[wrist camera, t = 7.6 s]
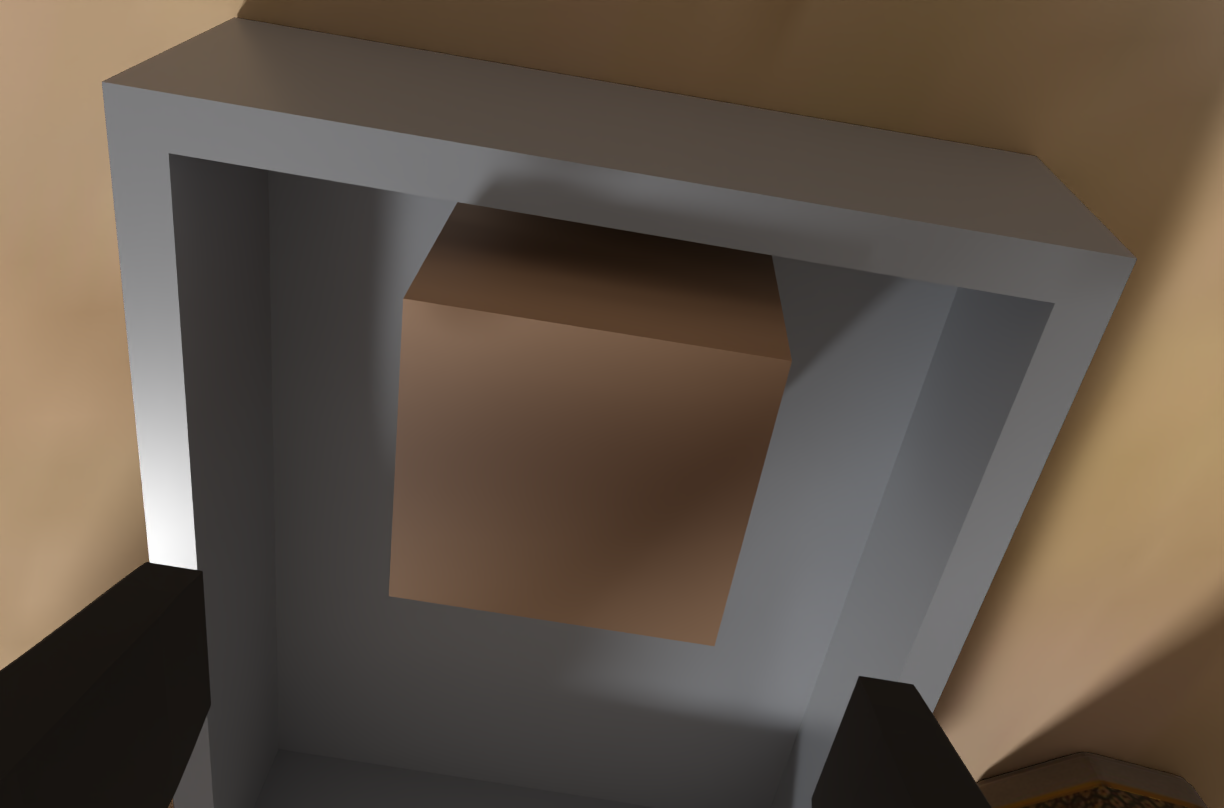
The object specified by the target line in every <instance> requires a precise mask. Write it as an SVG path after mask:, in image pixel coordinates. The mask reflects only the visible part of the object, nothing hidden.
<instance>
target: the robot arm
mask: <svg viewBox="0 0 1224 808" xmlns="http://www.w3.org/2000/svg"><path fill="white" fill-rule="evenodd" d="M210 706H211V694H210V678H209V662H208V646H207V630H206V615H205V599H204V583H203V571H199V570H193V569H187V568H181V567H174V566H168V565H162V564H156V563H149V562H146V563H144V564H143V565H141V566H140V567H138V568H137V569H136V570H134V571H133V572H132V573H130V574H129V575H127V576H126V577H125V578H123V579H122V580H121V581H119V582H118V583H117V584H115V585H114V586H113V587H111V588H110V589H109V590H107V591H106V592H105V593H104V594H102V595H101V596H100V597H98V598H97V599H96V600H94V601H93V602H92V603H90V604H89V605H88V606H87V607H85V608H84V609H83V610H81V611H80V612H79V613H77V614H76V615H75V616H73V617H72V618H71V619H69V620H68V621H67V622H66V623H64V624H63V625H62V626H60V627H59V628H58V629H56V630H55V631H54V632H52V633H51V634H50V635H48V636H47V637H46V638H44V639H43V640H42V641H40V642H39V643H38V644H36V645H35V646H34V647H32V648H31V649H30V650H28V651H27V652H25V653H24V654H23V655H21V656H20V657H19V658H17V659H16V660H14V661H13V662H12V663H10V664H9V665H8V666H6V667H5V668H3V669H2V670H1V671H0V808H168V806H169V804H170V802H171V800H172V798H173V796H174V795H175V793H176V790H177V788H178V786H179V783H180V781H181V778H182V776H183V774H184V771H185V769H186V766H187V764H188V762H189V759H190V757H191V755H192V752H193V750H194V747H195V745H196V742H197V739H198V737H199V734H200V732H201V729H202V727H203V724H204V722H205V719H206V717H207V714H208V711H209V709H210ZM811 802H812V808H992V806H991V805H990V803H989V802H988V800H987V799H986V797H985V796H984V794H983V793H982V791H981V790H980V788H979V786H978V785H977V783H976V782H975V780H974V779H973V777H972V775H971V774H970V772H969V771H968V769H967V768H966V766H965V765H964V763H963V761H962V760H961V758H960V757H959V755H958V753H957V752H956V750H955V749H954V747H953V745H952V744H951V742H950V741H949V739H948V737H947V736H946V734H945V733H944V731H943V729H942V728H941V726H940V725H939V723H938V721H937V720H936V718H935V717H934V715H933V714H932V712H931V710H930V709H929V707H928V706H927V704H926V702H925V701H924V699H923V698H922V696H921V695H920V693H919V692H918V690H917V689H916V687H915V686H914V684H908V683H902V682H896V681H889V680H883V679H877V678H870V677H864V676H859V677H858V679H857V682H856V685H855V687H854V690H853V692H852V695H851V698H850V700H849V703H848V705H847V708H846V710H845V713H844V716H843V718H842V721H841V723H840V726H839V728H838V731H837V734H836V736H835V739H834V741H833V744H832V746H831V749H830V752H829V754H828V757H827V759H826V762H825V764H824V767H823V770H822V772H821V775H820V777H819V780H818V783H817V785H816V788H815V790H814V793H813V795H812V798H811Z"/></svg>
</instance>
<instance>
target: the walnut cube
mask: <svg viewBox="0 0 1224 808" xmlns="http://www.w3.org/2000/svg"><path fill="white" fill-rule="evenodd" d="M791 363H792V359H791V353H790V348H789V343H788V338H787V332H786V327H785V322H784V317H783V311H782V306H781V301H780V296H779V290H778V285H777V280H776V275H775V269H774V264H773V259H772V255H767V254H761V253H755V252H749V251H743V250H738V249H732V248H726V247H720V246H714V245H708V244H702V243H696V242H690V241H684V240H679V239H673V238H667V237H661V236H655V235H649V234H643V233H637V232H631V231H625V230H619V229H614V228H608V227H602V226H596V225H590V224H584V223H578V222H572V221H566V220H560V219H555V218H549V217H543V216H537V215H531V214H525V213H519V212H513V211H507V210H501V209H495V208H490V207H484V206H478V205H472V204H466V203H460V202H457V204H456V205H455V207H454V209H453V211H452V213H451V214H450V216H449V218H448V220H447V221H446V223H445V225H444V227H443V229H442V230H441V232H440V234H439V236H438V237H437V239H436V241H435V243H434V245H433V246H432V248H431V250H430V252H429V253H428V255H427V257H426V259H425V260H424V262H423V264H422V266H421V268H420V269H419V271H418V273H417V275H416V276H415V278H414V280H413V282H412V284H411V285H410V287H409V289H408V291H407V292H406V294H405V296H404V298H403V310H402V331H401V352H400V373H399V394H398V415H397V435H396V456H395V477H394V498H393V519H392V540H391V561H390V581H389V596H391V597H398V598H404V599H411V600H417V601H424V602H430V603H437V604H443V605H450V606H456V607H463V608H469V609H476V610H482V611H489V612H495V613H502V614H508V615H514V616H521V617H527V618H534V619H540V620H547V621H553V622H560V623H566V624H573V625H579V626H586V627H592V628H599V629H605V630H612V631H618V632H625V633H631V634H638V635H644V636H651V637H657V638H664V639H670V640H677V641H683V642H690V643H696V644H703V645H709V646H715V643H716V639H717V635H718V632H719V628H720V624H721V621H722V617H723V613H724V610H725V606H726V602H727V598H728V595H729V591H730V587H731V584H732V580H733V576H734V573H735V569H736V565H737V562H738V558H739V554H740V551H741V547H742V543H743V540H744V536H745V532H746V529H747V525H748V521H749V517H750V514H751V510H752V506H753V503H754V499H755V495H756V492H757V488H758V484H759V481H760V477H761V473H762V470H763V466H764V462H765V459H766V455H767V451H768V448H769V444H770V440H771V436H772V433H773V429H774V425H775V422H776V418H777V414H778V411H779V407H780V403H781V400H782V396H783V392H784V389H785V385H786V381H787V378H788V374H789V370H790V367H791Z"/></svg>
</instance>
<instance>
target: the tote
mask: <svg viewBox="0 0 1224 808" xmlns="http://www.w3.org/2000/svg"><path fill="white" fill-rule="evenodd" d="M102 88H103V98H104V108H105V118H106V128H107V138H108V148H109V158H110V168H111V178H112V189H113V199H114V209H115V219H116V229H117V239H118V249H119V259H120V269H121V279H122V289H123V299H124V309H125V320H126V330H127V340H128V350H129V360H130V370H131V380H132V390H133V400H134V410H135V420H136V430H137V440H138V450H139V461H140V471H141V481H142V491H143V501H144V511H145V521H146V531H147V541H148V551H149V561H150V563H156V564H162V565H168V566H174V567H181V568H187V569H193V570H199V571H203V583H204V599H205V615H206V630H207V646H208V662H209V678H210V694H211V706H210V709H209V711H208V714H207V717H206V719H205V722H204V724H203V727H202V729H201V732H200V734H199V737H198V739H197V742H196V745H195V747H194V750H193V752H192V755H191V757H190V759H189V762H188V764H187V766H186V769H185V771H184V774H183V776H182V778H181V781H180V783H179V786H178V788H177V790H176V793H175V795H174V796H173V803H174V808H812V802H811V798H812V795H813V793H814V790H815V788H816V785H817V783H818V780H819V777H820V775H821V772H822V770H823V767H824V764H825V762H826V759H827V757H828V754H829V752H830V749H831V746H832V744H833V741H834V739H835V736H836V734H837V731H838V728H839V726H840V723H841V721H842V718H843V716H844V713H845V710H846V708H847V705H848V703H849V700H850V698H851V695H852V692H853V690H854V687H855V685H856V682H857V679H858V677H859V676H864V677H870V678H877V679H883V680H889V681H896V682H902V683H908V684H914V686H915V687H916V689H917V690H918V692H919V693H920V695H921V696H922V698H923V699H924V701H925V702H926V704H927V706H928V707H929V709H930V710H931V712H932V713H933V711H934V709H935V707H936V705H937V702H938V700H939V698H940V696H941V693H942V691H943V689H944V687H945V685H946V682H947V680H948V678H949V676H950V673H951V671H952V669H953V667H954V665H955V662H956V660H957V658H958V656H959V653H960V651H961V649H962V647H963V645H964V642H965V640H966V638H967V636H968V633H969V631H970V629H971V627H972V625H973V622H974V620H975V618H976V616H977V613H978V611H979V609H980V607H981V605H982V602H983V600H984V598H985V596H986V593H987V591H988V589H989V587H990V585H991V582H992V580H993V578H994V576H995V573H996V571H997V569H998V567H999V565H1000V562H1001V560H1002V558H1003V556H1004V553H1005V551H1006V549H1007V547H1008V545H1009V542H1010V540H1011V538H1012V536H1013V533H1014V531H1015V529H1016V527H1017V525H1018V522H1019V520H1020V518H1021V516H1022V513H1023V511H1024V509H1025V507H1026V505H1027V502H1028V500H1029V498H1030V496H1031V493H1032V491H1033V489H1034V487H1035V485H1036V482H1037V480H1038V478H1039V476H1040V473H1041V471H1042V469H1043V467H1044V465H1045V462H1046V460H1047V458H1048V456H1049V453H1050V451H1051V449H1052V447H1053V445H1054V442H1055V440H1056V438H1057V436H1058V433H1059V431H1060V429H1061V427H1062V425H1063V422H1064V420H1065V418H1066V416H1067V413H1068V411H1069V409H1070V407H1071V405H1072V402H1073V400H1074V398H1075V396H1076V393H1077V391H1078V389H1079V387H1080V385H1081V382H1082V380H1083V378H1084V376H1085V373H1086V371H1087V369H1088V367H1089V365H1090V362H1091V360H1092V358H1093V356H1094V353H1095V351H1096V349H1097V347H1098V345H1099V342H1100V340H1101V338H1102V336H1103V333H1104V331H1105V329H1106V327H1107V325H1108V322H1109V320H1110V318H1111V316H1112V313H1113V311H1114V309H1115V307H1116V305H1117V302H1118V300H1119V298H1120V296H1121V293H1122V291H1123V289H1124V287H1125V285H1126V282H1127V280H1128V278H1129V276H1130V273H1131V271H1132V269H1133V267H1134V265H1135V262H1136V260H1137V258H1136V257H1135V256H1134V255H1133V254H1132V253H1131V252H1130V251H1129V250H1128V249H1127V248H1126V247H1125V246H1124V245H1123V244H1122V243H1121V242H1120V241H1119V240H1118V239H1117V238H1116V237H1115V236H1114V235H1113V234H1112V233H1111V232H1110V231H1109V230H1108V229H1107V228H1106V227H1105V226H1104V224H1103V223H1102V222H1101V221H1100V220H1099V219H1098V218H1097V217H1096V216H1095V215H1094V214H1093V213H1092V212H1091V211H1090V210H1089V209H1088V208H1087V207H1086V206H1085V205H1084V204H1083V203H1082V202H1081V201H1080V200H1079V199H1078V198H1077V197H1076V196H1075V195H1074V194H1073V193H1072V192H1071V191H1070V190H1069V189H1068V188H1067V187H1066V186H1065V185H1064V184H1063V183H1062V182H1061V181H1060V180H1059V179H1058V178H1057V177H1056V176H1055V175H1054V174H1053V173H1052V172H1051V171H1050V170H1049V169H1048V168H1047V167H1046V166H1045V165H1044V164H1043V163H1042V161H1041V160H1040V159H1039V158H1038V157H1037V156H1032V155H1027V154H1021V153H1015V152H1009V151H1004V150H998V149H992V148H986V147H980V146H975V145H969V144H963V143H957V142H952V141H946V140H940V139H934V138H928V137H923V136H917V135H911V134H905V133H900V132H894V131H888V130H882V129H876V128H871V127H865V126H859V125H853V124H848V123H842V122H836V121H830V120H824V119H819V118H813V117H807V116H801V115H796V114H790V113H784V112H778V111H772V110H767V109H761V108H755V107H749V106H744V105H738V104H732V103H726V102H720V101H715V100H709V99H703V98H697V97H692V96H686V95H680V94H674V93H668V92H663V91H657V90H651V89H645V88H640V87H634V86H628V85H622V84H616V83H611V82H605V81H599V80H593V79H588V78H582V77H576V76H570V75H565V74H559V73H553V72H547V71H541V70H536V69H530V68H524V67H518V66H513V65H507V64H501V63H495V62H489V61H484V60H478V59H472V58H466V57H461V56H455V55H449V54H443V53H437V52H432V51H426V50H420V49H414V48H409V47H403V46H397V45H391V44H385V43H380V42H374V41H368V40H362V39H357V38H351V37H345V36H339V35H333V34H328V33H322V32H316V31H310V30H305V29H299V28H293V27H287V26H281V25H276V24H270V23H264V22H258V21H253V20H247V19H241V18H235V17H234V18H232V19H230V20H228V21H226V22H224V23H222V24H220V25H218V26H216V27H214V28H212V29H210V30H208V31H205V32H203V33H201V34H199V35H197V36H195V37H193V38H191V39H189V40H187V41H185V42H183V43H181V44H179V45H177V46H175V47H172V48H170V49H168V50H166V51H164V52H162V53H160V54H158V55H156V56H154V57H152V58H150V59H148V60H146V61H144V62H142V63H140V64H137V65H135V66H133V67H131V68H129V69H127V70H125V71H123V72H121V73H119V74H117V75H115V76H113V77H111V78H109V79H107V80H105V81H102ZM457 202H460V203H466V204H472V205H478V206H484V207H490V208H495V209H501V210H507V211H513V212H519V213H525V214H531V215H537V216H543V217H549V218H555V219H560V220H566V221H572V222H578V223H584V224H590V225H596V226H602V227H608V228H614V229H619V230H625V231H631V232H637V233H643V234H649V235H655V236H661V237H667V238H673V239H679V240H684V241H690V242H696V243H702V244H708V245H714V246H720V247H726V248H732V249H738V250H743V251H749V252H755V253H761V254H767V255H772V259H773V264H774V269H775V275H776V280H777V285H778V290H779V296H780V301H781V306H782V311H783V317H784V322H785V327H786V332H787V338H788V343H789V348H790V353H791V359H792V363H791V367H790V370H789V374H788V378H787V381H786V385H785V389H784V392H783V396H782V400H781V403H780V407H779V411H778V414H777V418H776V422H775V425H774V429H773V433H772V436H771V440H770V444H769V448H768V451H767V455H766V459H765V462H764V466H763V470H762V473H761V477H760V481H759V484H758V488H757V492H756V495H755V499H754V503H753V506H752V510H751V514H750V517H749V521H748V525H747V529H746V532H745V536H744V540H743V543H742V547H741V551H740V554H739V558H738V562H737V565H736V569H735V573H734V576H733V580H732V584H731V587H730V591H729V595H728V598H727V602H726V606H725V610H724V613H723V617H722V621H721V624H720V628H719V632H718V635H717V639H716V643H715V646H709V645H703V644H696V643H690V642H683V641H677V640H670V639H664V638H657V637H651V636H644V635H638V634H631V633H625V632H618V631H612V630H605V629H599V628H592V627H586V626H579V625H573V624H566V623H560V622H553V621H547V620H540V619H534V618H527V617H521V616H514V615H508V614H502V613H495V612H489V611H482V610H476V609H469V608H463V607H456V606H450V605H443V604H437V603H430V602H424V601H417V600H411V599H404V598H398V597H391V596H389V581H390V561H391V540H392V519H393V498H394V477H395V456H396V435H397V415H398V394H399V373H400V352H401V331H402V310H403V298H404V296H405V294H406V292H407V291H408V289H409V287H410V285H411V284H412V282H413V280H414V278H415V276H416V275H417V273H418V271H419V269H420V268H421V266H422V264H423V262H424V260H425V259H426V257H427V255H428V253H429V252H430V250H431V248H432V246H433V245H434V243H435V241H436V239H437V237H438V236H439V234H440V232H441V230H442V229H443V227H444V225H445V223H446V221H447V220H448V218H449V216H450V214H451V213H452V211H453V209H454V207H455V205H456V204H457Z"/></svg>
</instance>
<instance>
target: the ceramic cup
mask: <svg viewBox="0 0 1224 808" xmlns="http://www.w3.org/2000/svg"><path fill="white" fill-rule="evenodd" d="M977 785H978V786H979V788H980V790H981V791H982V793H983V794H984V796H985V797H986V799H987V800H988V802H989V803H990V805H991V806H992V808H1207V806H1206V805H1205V803H1204V802H1203V800H1202V799H1201V798H1200V796H1199V795H1198V793H1197V792H1196V790H1195V789H1194V788H1193V787H1192V785H1190V784H1189V783H1188V782H1186V781H1185V779H1184V778H1182V777H1179V776H1176V775H1172V774H1169V773H1166V772H1162V771H1158V770H1154V769H1150V768H1146V767H1143V766H1139V765H1135V764H1131V763H1127V762H1123V761H1120V760H1116V759H1112V758H1108V757H1104V756H1101V755H1096V754H1092V753H1088V752H1082V753H1077V754H1073V755H1070V756H1066V757H1062V758H1059V759H1055V760H1052V761H1048V762H1045V763H1041V764H1038V765H1034V766H1031V767H1027V768H1024V769H1020V770H1017V771H1013V772H1010V773H1006V774H1003V775H1000V776H996V777H993V778H989V779H986V780H982V781H980V782H978V783H977Z"/></svg>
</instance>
